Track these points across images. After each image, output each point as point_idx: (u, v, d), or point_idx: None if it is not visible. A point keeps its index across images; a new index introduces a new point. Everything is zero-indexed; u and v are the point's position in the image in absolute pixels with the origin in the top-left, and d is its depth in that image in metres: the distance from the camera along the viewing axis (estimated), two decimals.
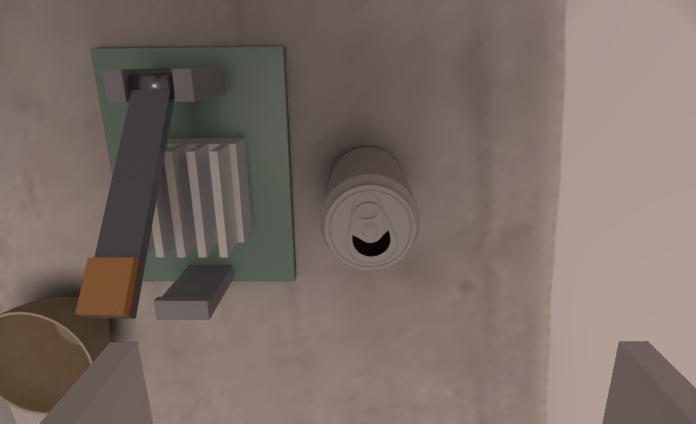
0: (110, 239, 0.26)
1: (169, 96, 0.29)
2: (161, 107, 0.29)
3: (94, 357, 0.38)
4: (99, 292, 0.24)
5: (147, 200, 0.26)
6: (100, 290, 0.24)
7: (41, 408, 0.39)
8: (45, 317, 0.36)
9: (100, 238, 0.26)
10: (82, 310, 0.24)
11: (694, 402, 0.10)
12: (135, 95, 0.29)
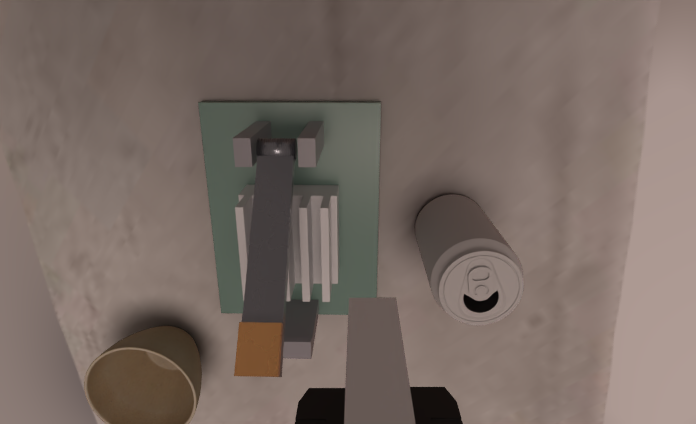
0: (254, 303, 0.28)
1: (293, 161, 0.31)
2: (287, 173, 0.31)
3: (196, 387, 0.41)
4: (253, 355, 0.26)
5: (284, 265, 0.29)
6: (254, 353, 0.26)
7: None
8: (154, 352, 0.39)
9: (245, 302, 0.28)
10: (240, 372, 0.26)
11: (389, 339, 0.12)
12: (261, 161, 0.31)
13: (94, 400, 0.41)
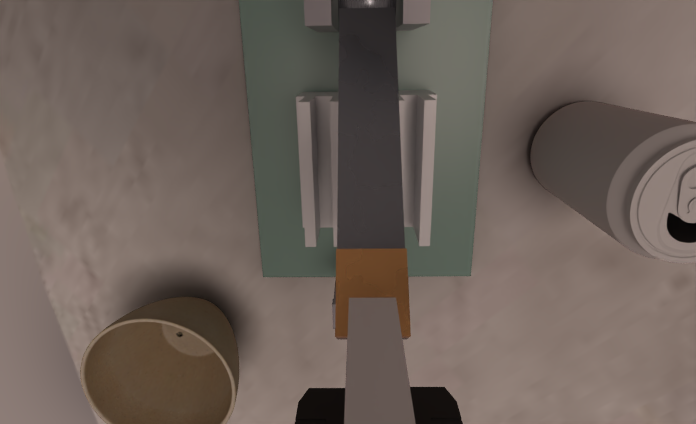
0: (355, 221, 0.17)
1: (395, 16, 0.20)
2: (387, 31, 0.20)
3: (235, 375, 0.29)
4: None
5: (397, 163, 0.18)
6: None
7: None
8: (178, 325, 0.28)
9: (339, 220, 0.17)
10: (346, 330, 0.15)
11: (389, 339, 0.12)
12: (346, 15, 0.20)
13: (95, 395, 0.30)
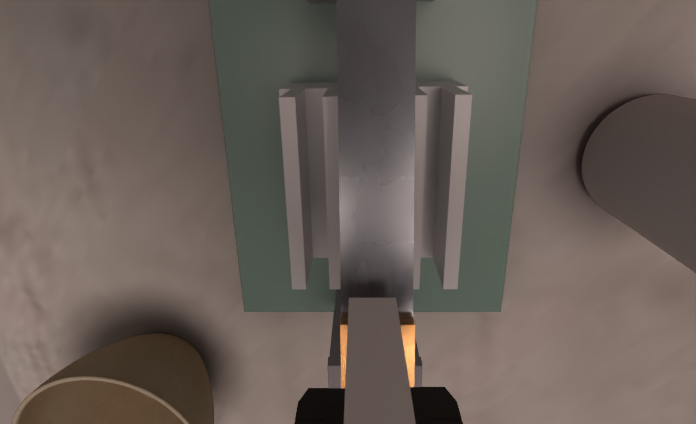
0: (360, 284, 0.16)
1: None
2: (404, 15, 0.14)
3: None
4: None
5: (409, 215, 0.15)
6: None
7: None
8: (130, 385, 0.22)
9: (343, 282, 0.16)
10: None
11: (389, 339, 0.12)
12: None
13: None
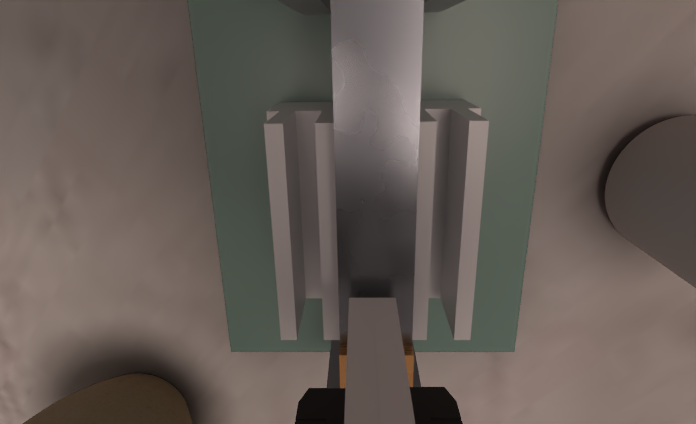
0: None
1: None
2: (410, 35, 0.12)
3: None
4: None
5: (410, 248, 0.15)
6: None
7: None
8: None
9: (341, 312, 0.15)
10: None
11: (389, 339, 0.12)
12: None
13: None
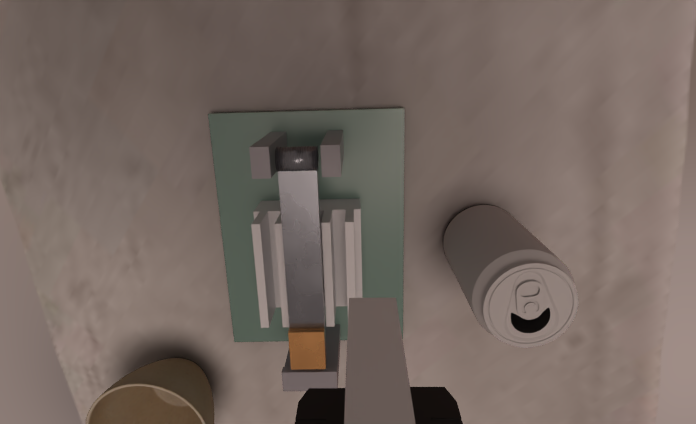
0: (297, 312, 0.32)
1: (317, 176, 0.29)
2: (312, 191, 0.30)
3: None
4: (304, 355, 0.32)
5: (319, 280, 0.31)
6: (305, 354, 0.32)
7: None
8: (163, 388, 0.35)
9: (289, 311, 0.32)
10: (295, 367, 0.33)
11: (389, 339, 0.12)
12: (283, 177, 0.29)
13: None
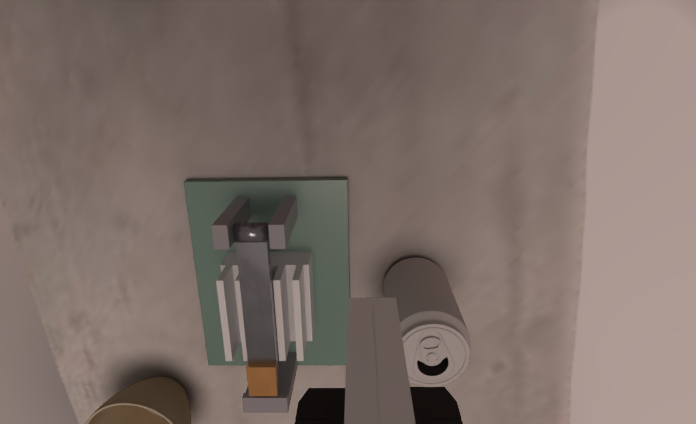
0: (254, 351, 0.39)
1: (267, 246, 0.36)
2: (263, 257, 0.37)
3: None
4: (259, 385, 0.40)
5: (271, 326, 0.39)
6: (260, 384, 0.40)
7: None
8: (146, 407, 0.43)
9: (247, 350, 0.39)
10: (253, 394, 0.40)
11: (389, 339, 0.12)
12: (239, 247, 0.36)
13: None
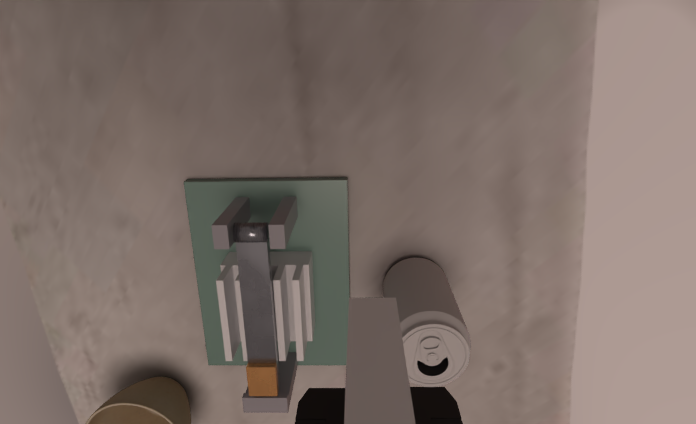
0: (254, 351, 0.39)
1: (267, 246, 0.36)
2: (263, 257, 0.37)
3: None
4: (259, 385, 0.40)
5: (271, 326, 0.39)
6: (260, 384, 0.40)
7: None
8: (146, 407, 0.43)
9: (247, 350, 0.39)
10: (253, 394, 0.40)
11: (389, 339, 0.12)
12: (239, 247, 0.36)
13: None
